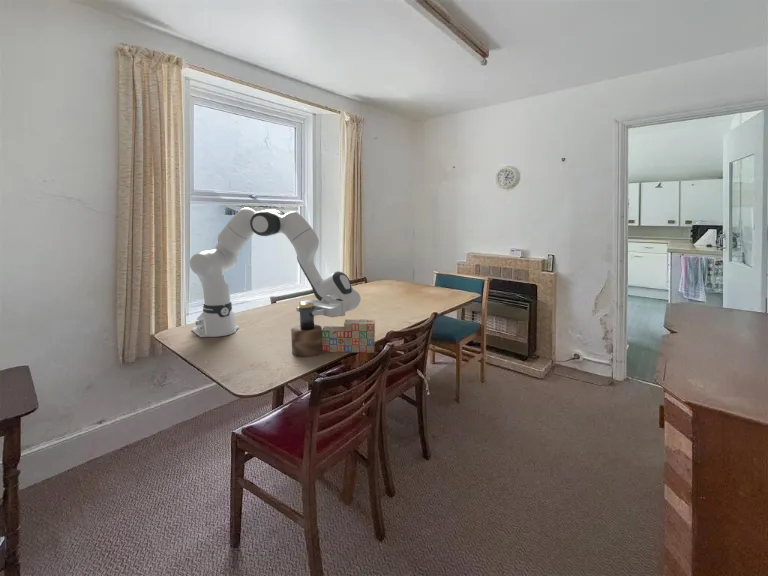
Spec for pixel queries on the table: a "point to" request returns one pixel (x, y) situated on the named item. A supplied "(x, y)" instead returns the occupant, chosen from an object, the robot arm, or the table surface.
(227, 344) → the table surface
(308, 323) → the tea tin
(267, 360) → the table surface
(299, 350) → the brown wooden cylinder
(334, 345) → the stack of blocks
